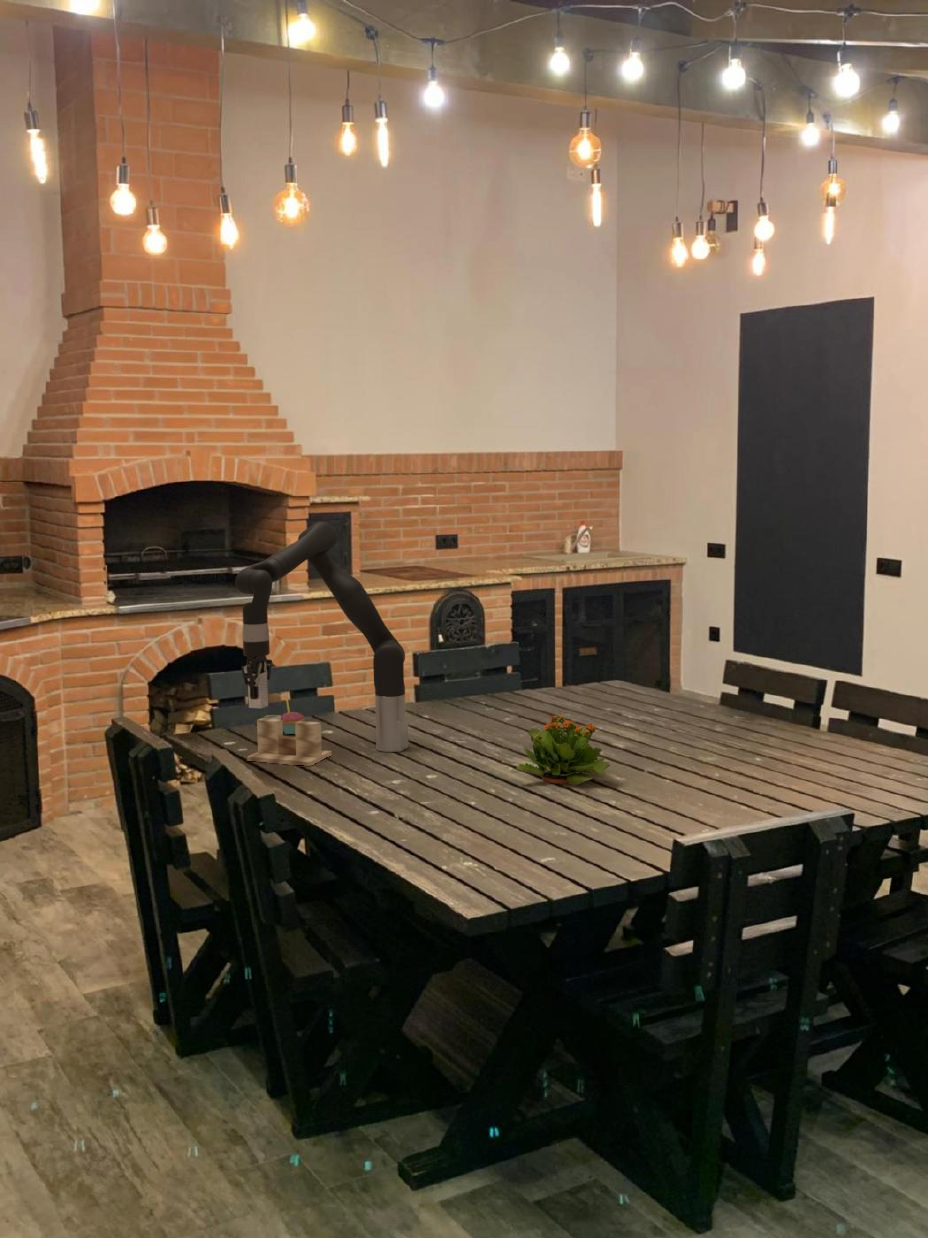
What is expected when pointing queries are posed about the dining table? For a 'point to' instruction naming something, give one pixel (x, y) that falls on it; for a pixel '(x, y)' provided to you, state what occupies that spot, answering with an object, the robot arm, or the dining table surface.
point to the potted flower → (563, 753)
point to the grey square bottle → (260, 692)
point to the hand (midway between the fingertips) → (258, 697)
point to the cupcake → (290, 720)
